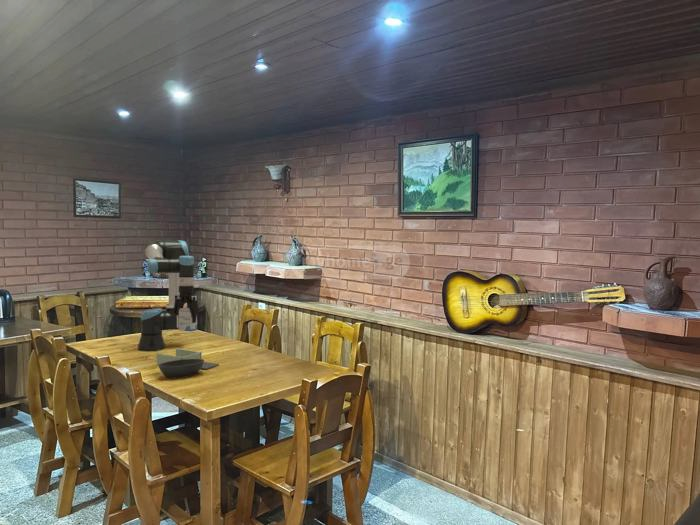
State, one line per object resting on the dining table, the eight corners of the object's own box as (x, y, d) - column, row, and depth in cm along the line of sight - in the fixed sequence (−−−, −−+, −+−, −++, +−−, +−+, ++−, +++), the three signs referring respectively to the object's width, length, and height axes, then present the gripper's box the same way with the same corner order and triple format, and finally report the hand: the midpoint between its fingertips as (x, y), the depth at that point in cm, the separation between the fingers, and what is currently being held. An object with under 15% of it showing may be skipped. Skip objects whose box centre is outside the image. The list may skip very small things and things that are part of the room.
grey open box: (156, 365, 259) (156, 353, 259) (176, 359, 273) (176, 348, 272) (181, 369, 253) (182, 357, 252) (201, 363, 266) (201, 352, 266)
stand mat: (190, 367, 257) (190, 365, 257) (203, 363, 266) (203, 361, 266) (206, 370, 253) (206, 368, 253) (218, 365, 262) (218, 364, 262)
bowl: (154, 375, 241) (154, 363, 241) (199, 369, 254) (199, 357, 254) (162, 382, 231) (162, 368, 231) (208, 375, 245) (208, 362, 244)
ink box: (197, 330, 263) (197, 308, 263) (191, 331, 259) (191, 309, 258) (184, 329, 267) (184, 307, 266) (178, 330, 262) (178, 308, 262)
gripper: (165, 284, 262) (165, 327, 262) (196, 286, 252) (196, 331, 253) (176, 283, 268) (176, 325, 269) (207, 285, 259) (206, 329, 260)
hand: (185, 328), depth 261 cm, fingers closed on ink box, 9 cm apart
